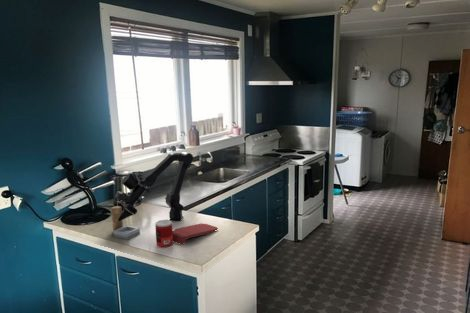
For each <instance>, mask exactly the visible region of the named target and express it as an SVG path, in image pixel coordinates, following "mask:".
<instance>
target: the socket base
mask: <svg viewBox="0 0 470 313" xmlns="http://www.w3.org/2000/svg"><path fill="white" fill-rule="evenodd" d="M140 231H141V230H140V227H136V226H133V225H128V224H127V225H123V227H121V228H119V229H117V230H115V231H114V232H113V237H114V238H119V239H120V240H121V239H122V240H126V241H127V240H130V239H132V238H134V237H136V236H138V235H140V234H141V232H140Z"/></svg>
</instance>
